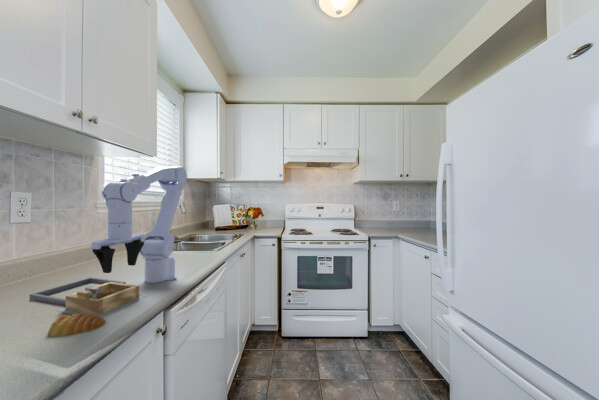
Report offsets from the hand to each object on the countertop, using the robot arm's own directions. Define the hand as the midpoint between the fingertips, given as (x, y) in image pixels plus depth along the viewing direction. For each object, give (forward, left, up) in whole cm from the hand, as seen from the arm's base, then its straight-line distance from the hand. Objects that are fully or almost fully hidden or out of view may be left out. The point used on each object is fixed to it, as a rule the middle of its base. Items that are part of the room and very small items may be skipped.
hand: (120, 268), depth 71 cm
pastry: (+15, +7, -10) cm, 20 cm away
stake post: (+7, 0, -9) cm, 12 cm away
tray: (0, -15, -9) cm, 18 cm away
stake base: (+4, 0, -9) cm, 10 cm away
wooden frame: (+4, 0, -8) cm, 9 cm away
